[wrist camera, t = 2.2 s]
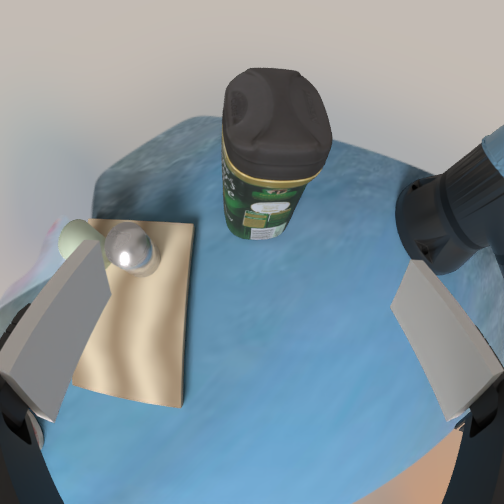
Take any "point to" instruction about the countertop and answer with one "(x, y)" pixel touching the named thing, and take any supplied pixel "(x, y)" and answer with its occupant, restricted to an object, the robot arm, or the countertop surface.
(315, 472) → the countertop surface
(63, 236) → the sage tin
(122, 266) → the shiny silver cylinder
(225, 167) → the coffee jar
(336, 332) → the countertop surface
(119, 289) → the birch board
